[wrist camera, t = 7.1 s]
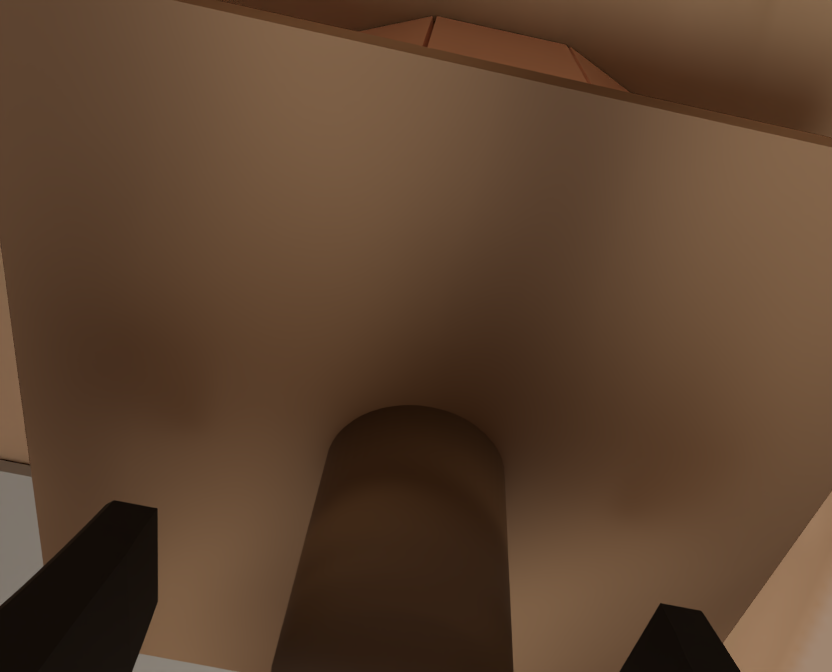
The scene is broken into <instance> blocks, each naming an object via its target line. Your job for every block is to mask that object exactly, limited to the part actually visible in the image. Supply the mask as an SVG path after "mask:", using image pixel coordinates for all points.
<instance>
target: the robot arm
mask: <svg viewBox="0 0 832 672" xmlns="http://www.w3.org/2000/svg"><path fill="white" fill-rule="evenodd" d="M157 603H158V508H153V507H148V506H143V505H138V504H132V503H127V502H122V501H116V500H113V501H111V502H109V503H108V504H106V505H105V506H104V507H103V508H102V509H101V510H100V511H99V512H98V513H97V514H96V515H95V516H94V517H93V518H92V519H91V520H90V521H89V522H88V523H87V524H86V525H85V526H84V527H83V528H82V529H81V530H80V531H79V532H78V533H77V534H76V535H75V536H74V537H73V538H72V539H71V540H70V541H69V542H68V543H67V544H66V545H65V546H64V547H63V548H62V549H61V550H60V551H59V552H58V553H57V554H56V555H55V556H54V557H53V558H52V559H50V560H49V561H48V562H47V563H46V564H45V565H44V566H43V567H42V568H41V569H40V570H39V571H38V572H37V573H36V574H35V575H34V576H32V577H31V578H30V579H29V580H28V581H27V582H26V583H25V584H24V585H23V586H22V587H21V588H19V589H18V590H17V591H16V592H15V593H14V594H13V595H12V596H11V597H9V598H8V599H7V600H6V601H5V602H4V603H3V604H2V605H1V606H0V672H132V671H133V668H134V666H135V663H136V660H137V658H138V655H139V652H140V650H141V647H142V644H143V642H144V639H145V636H146V633H147V631H148V628H149V625H150V622H151V620H152V617H153V614H154V611H155V609H156V606H157ZM619 672H740V670H739V668H738V667H737V665H736V664H735V662H734V660H733V659H732V657H731V656H730V654H729V653H728V651H727V649H726V648H725V646H724V645H723V643H722V642H721V640H720V638H719V637H718V635H717V634H716V632H715V631H714V629H713V627H712V626H711V624H710V623H709V621H708V620H707V618H706V617H705V615H704V614H703V612H702V611H700V610H695V609H690V608H684V607H679V606H674V605H668V604H663V603H660V604H659V606H658V608H657V609H656V611H655V613H654V614H653V616H652V618H651V619H650V621H649V623H648V625H647V626H646V628H645V630H644V631H643V633H642V635H641V636H640V638H639V640H638V641H637V643H636V645H635V646H634V648H633V650H632V651H631V653H630V655H629V656H628V658H627V660H626V661H625V663H624V665H623V666H622V668H621V670H620V671H619Z"/></svg>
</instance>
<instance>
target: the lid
mask: <svg viewBox="0 0 832 672" xmlns="http://www.w3.org/2000/svg"><path fill="white" fill-rule="evenodd" d="M0 243H1V250H2V258H3V265H4V273H5V280H6V288H7V295H8V303H9V310H10V318H11V325H12V333H13V340H14V348H15V355H16V363H17V370H18V378H19V385H20V393H21V400H22V408H23V415H24V423H25V430H26V438H27V446H28V453H29V461H30V468H31V476H32V483H33V491H34V498H35V506H36V513H37V521H38V528H39V536H40V543H41V551H42V558H43V566H44V565H45V564H46V563H47V562H48V561H49V560H50V559H52V558H53V557H54V556H55V555H56V554H57V553H58V552H59V551H60V550H61V549H62V548H63V547H64V546H65V545H66V544H67V543H68V542H69V541H70V540H71V539H72V538H73V537H74V536H75V535H76V534H77V533H78V532H79V531H80V530H81V529H82V528H83V527H84V526H85V525H86V524H87V523H88V522H89V521H90V520H91V519H92V518H93V517H94V516H95V515H96V514H97V513H98V512H99V511H100V510H101V509H102V508H103V507H104V506H105V505H106V504H108V503H109V502H111V501H113V500H116V501H122V502H127V503H132V504H138V505H143V506H148V507H153V508H158V603H157V606H156V609H155V611H154V614H153V617H152V620H151V622H150V625H149V628H148V631H147V633H146V636H145V639H144V642H143V644H142V647H141V650H140V652H139V654H144V655H150V656H155V657H160V658H166V659H171V660H177V661H182V662H188V663H193V664H199V665H204V666H210V667H215V668H220V669H226V670H231V671H237V672H619V671H620V670H621V668H622V666H623V665H624V663H625V661H626V660H627V658H628V656H629V655H630V653H631V651H632V650H633V648H634V646H635V645H636V643H637V641H638V640H639V638H640V636H641V635H642V633H643V631H644V630H645V628H646V626H647V625H648V623H649V621H650V619H651V618H652V616H653V614H654V613H655V611H656V609H657V608H658V606H659V604H660V603H663V604H668V605H674V606H679V607H684V608H690V609H695V610H700V611H702V612H703V614H704V615H705V617H706V618H707V620H708V621H709V623H710V624H711V626H712V627H713V629H714V631H715V632H716V634H717V635H718V637H719V638H720V640H721V642H722V643H723V642H724V641H725V639H726V638H727V637H728V635H729V634H730V632H731V631H732V630H733V628H734V627H735V625H736V624H737V623H738V621H739V620H740V618H741V617H742V616H743V614H744V613H745V611H746V610H747V609H748V607H749V606H750V604H751V603H752V602H753V600H754V599H755V597H756V596H757V595H758V593H759V592H760V590H761V589H762V588H763V586H764V585H765V583H766V582H767V581H768V579H769V578H770V576H771V575H772V574H773V572H774V571H775V569H776V568H777V567H778V565H779V564H780V562H781V561H782V560H783V558H784V557H785V555H786V554H787V553H788V551H789V550H790V549H791V547H792V546H793V544H794V543H795V542H796V540H797V539H798V537H799V536H800V535H801V533H802V532H803V530H804V529H805V528H806V526H807V525H808V523H809V522H810V521H811V519H812V518H813V516H814V515H815V514H816V512H817V511H818V509H819V508H820V507H821V505H822V504H823V502H824V501H825V500H826V498H827V497H828V495H829V494H830V493H831V491H832V138H830V137H826V136H821V135H817V134H812V133H808V132H803V131H799V130H795V129H790V128H786V127H781V126H777V125H772V124H768V123H763V122H759V121H754V120H750V119H745V118H741V117H737V116H732V115H728V114H723V113H719V112H714V111H710V110H705V109H701V108H696V107H692V106H687V105H683V104H679V103H674V102H670V101H665V100H661V99H656V98H652V97H647V96H643V95H638V94H634V93H629V92H625V91H620V90H616V89H612V88H607V87H603V86H598V85H594V84H589V83H585V82H580V81H576V80H571V79H567V78H562V77H558V76H554V75H549V74H545V73H540V72H536V71H531V70H527V69H522V68H518V67H513V66H509V65H504V64H500V63H496V62H491V61H487V60H482V59H478V58H473V57H469V56H464V55H460V54H455V53H451V52H446V51H442V50H437V49H433V48H429V47H424V46H420V45H415V44H411V43H406V42H402V41H397V40H393V39H388V38H384V37H379V36H375V35H371V34H366V33H362V32H357V31H353V30H348V29H344V28H339V27H335V26H330V25H326V24H321V23H317V22H313V21H308V20H304V19H299V18H295V17H290V16H286V15H281V14H277V13H272V12H268V11H263V10H259V9H254V8H250V7H246V6H241V5H237V4H232V3H228V2H223V1H219V0H0Z"/></svg>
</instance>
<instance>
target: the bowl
mask: <svg viewBox="0 0 832 672" xmlns="http://www.w3.org/2000/svg"><path fill="white" fill-rule="evenodd" d="M358 32H362V33H366V34H371V35H375V36H379V37H384V38H388V39H393V40H397V41H402V42H406V43H411V44H415V45H420V46H424V47H429V48H433V49H437V50H442V51H446V52H451V53H455V54H460V55H464V56H469V57H473V58H478V59H482V60H487V61H491V62H496V63H500V64H504V65H509V66H513V67H518V68H522V69H527V70H531V71H536V72H540V73H545V74H549V75H554V76H558V77H562V78H567V79H571V80H576V81H580V82H585V83H589V84H594V85H598V86H603V87H607V88H612V89H616V90H620V91H625V92H629V91H627V90H626V89H625V88H624V87H622V86H621V85H620V84H618V83H617V82H616V81H614V80H613V79H612V78H610V77H609V76H608V75H607V74H605V73H604V72H603V71H601V70H600V69H599V68H597V67H596V66H595V65H594V64H592V63H591V62H590V61H588V60H587V59H586V58H584V57H583V56H582V55H580V54H579V53H578V52H577V51H575V50H574V49H573V48H571V47H570V48H569V49H568V47H567V45H565V44H560V43H556V42H551V41H547V40H542V39H538V38H533V37H529V36H524V35H520V34H515V33H511V32H506V31H502V30H497V29H493V28H489V27H484V26H480V25H475V24H471V23H466V22H462V21H457V20H453V19H448V18H444V17H439V16H437V17H436V21H435V24H434V22H433V16H430V17H425V18H420V19H416V20H411V21H406V22H401V23H397V24H392V25H387V26H382V27H377V28H373V29H368V30H363V31H358ZM629 93H630V92H629Z"/></svg>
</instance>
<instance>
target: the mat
mask: <svg viewBox="0 0 832 672" xmlns="http://www.w3.org/2000/svg"><path fill="white" fill-rule="evenodd" d="M42 567H43V558H42V551H41V543H40V536H39V528H38V521H37V513H36V506H35V498H34V491H33V483H32V476H31V468H30V465H24V464H19V463H14V462H9V461H4V460H0V606H1V605H2V604H3V603H4V602H5V601H6V600H7V599H8V598H9V597H11V596H12V595H13V594H14V593H15V592H16V591H17V590H18V589H19V588H21V587H22V586H23V585H24V584H25V583H26V582H27V581H28V580H29V579H30V578H31V577H32V576H34V575H35V574H36V573H37V572H38V571H39V570H40V569H41V568H42ZM132 672H237V671H231V670H226V669H220V668H215V667H210V666H204V665H199V664H193V663H188V662H182V661H177V660H171V659H166V658H160V657H155V656H150V655H144V654H139V655H138V658H137V660H136V663H135V666H134V668H133V671H132Z"/></svg>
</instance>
